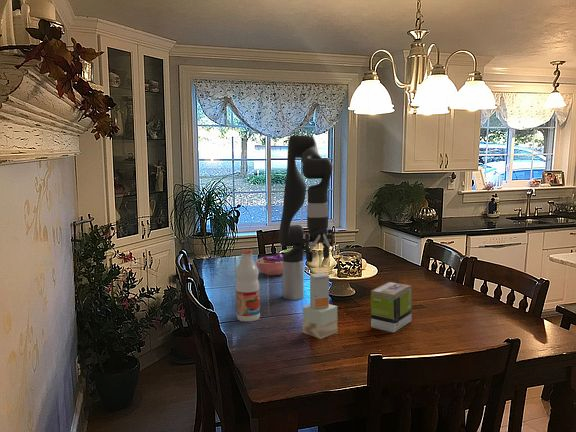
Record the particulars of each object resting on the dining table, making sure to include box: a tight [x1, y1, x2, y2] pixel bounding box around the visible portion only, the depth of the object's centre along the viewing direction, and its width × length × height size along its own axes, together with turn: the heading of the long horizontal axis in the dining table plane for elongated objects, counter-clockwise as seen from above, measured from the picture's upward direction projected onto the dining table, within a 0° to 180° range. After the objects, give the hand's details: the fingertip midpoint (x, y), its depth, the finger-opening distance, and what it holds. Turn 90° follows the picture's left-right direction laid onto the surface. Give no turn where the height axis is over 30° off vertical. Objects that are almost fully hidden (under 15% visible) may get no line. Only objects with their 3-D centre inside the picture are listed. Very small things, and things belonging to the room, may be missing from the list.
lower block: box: [302, 319, 338, 340], centre depth 178 cm, size 9×9×5 cm
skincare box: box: [309, 272, 330, 309], centre depth 177 cm, size 6×4×12 cm
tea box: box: [370, 281, 413, 333], centre depth 184 cm, size 15×10×15 cm
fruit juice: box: [235, 248, 261, 323], centre depth 193 cm, size 9×9×28 cm
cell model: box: [255, 252, 283, 276], centre depth 262 cm, size 17×20×11 cm
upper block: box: [302, 303, 338, 326], centre depth 178 cm, size 9×9×5 cm
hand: (317, 259), depth 174 cm, fingers open, 8 cm apart
